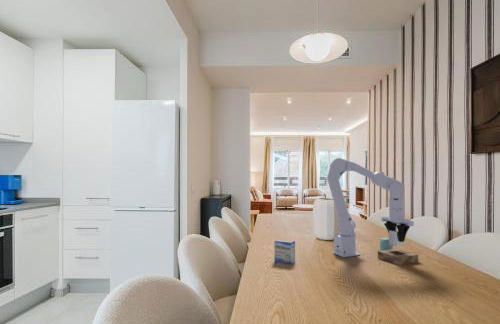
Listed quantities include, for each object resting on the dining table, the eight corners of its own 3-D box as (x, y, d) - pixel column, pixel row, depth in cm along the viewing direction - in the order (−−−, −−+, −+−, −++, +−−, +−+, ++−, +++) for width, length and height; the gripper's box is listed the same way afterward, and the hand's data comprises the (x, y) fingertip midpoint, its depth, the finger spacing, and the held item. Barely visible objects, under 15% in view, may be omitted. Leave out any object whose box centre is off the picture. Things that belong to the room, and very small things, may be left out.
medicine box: (274, 261, 125) (273, 240, 125) (278, 258, 128) (278, 238, 129) (291, 264, 121) (291, 242, 121) (295, 261, 125) (295, 240, 125)
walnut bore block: (399, 265, 119) (399, 257, 119) (377, 258, 129) (377, 251, 129) (418, 261, 123) (418, 254, 124) (395, 255, 134) (395, 248, 134)
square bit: (397, 246, 124) (396, 232, 124) (389, 244, 127) (388, 230, 128) (404, 245, 125) (403, 231, 126) (396, 243, 129) (395, 229, 129)
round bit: (387, 253, 136) (386, 240, 137) (377, 250, 142) (377, 238, 142) (395, 252, 139) (395, 239, 139) (385, 249, 144) (385, 237, 144)
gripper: (418, 210, 122) (419, 243, 122) (389, 206, 135) (389, 236, 135) (406, 210, 119) (407, 244, 119) (377, 207, 133) (378, 237, 132)
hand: (397, 240), depth 127 cm, fingers closed on square bit, 4 cm apart
